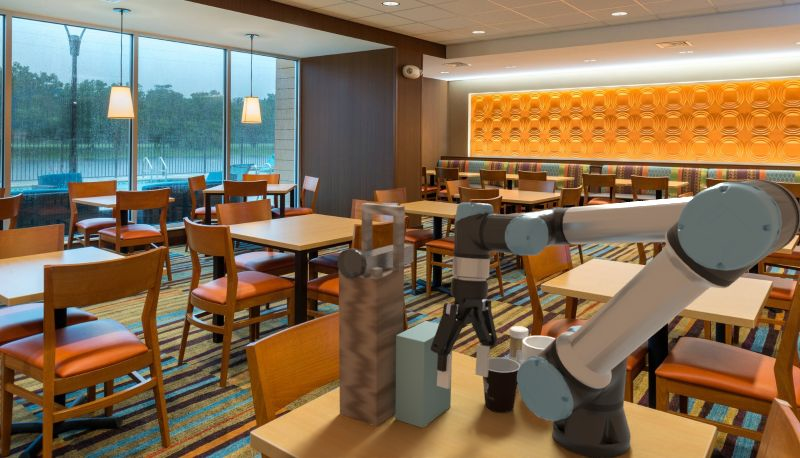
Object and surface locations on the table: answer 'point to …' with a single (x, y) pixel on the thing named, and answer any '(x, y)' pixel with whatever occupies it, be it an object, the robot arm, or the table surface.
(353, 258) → the grey elongated piece
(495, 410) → the coffee mug
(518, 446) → the table surface
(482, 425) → the table surface
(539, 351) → the foam cup
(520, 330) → the sprinkles bottle
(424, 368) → the teal pedestal
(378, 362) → the walnut stand
